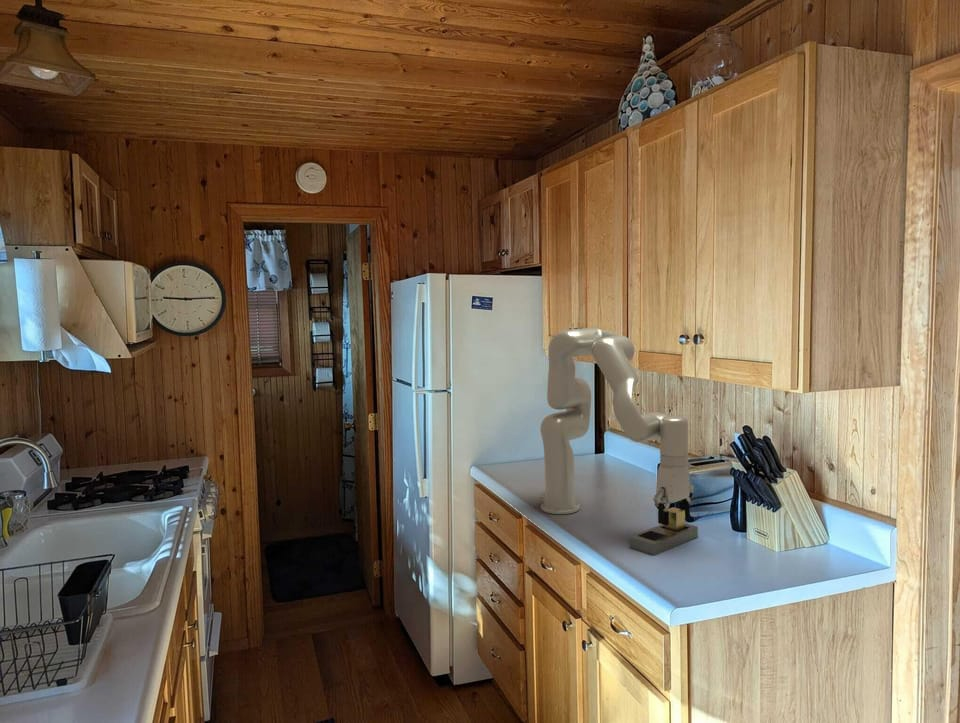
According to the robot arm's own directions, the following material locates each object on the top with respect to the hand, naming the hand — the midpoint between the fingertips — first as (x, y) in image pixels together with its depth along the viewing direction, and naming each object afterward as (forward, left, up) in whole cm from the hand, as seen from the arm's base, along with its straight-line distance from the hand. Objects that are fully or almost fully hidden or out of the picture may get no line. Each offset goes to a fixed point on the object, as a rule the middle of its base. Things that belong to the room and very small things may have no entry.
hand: (674, 520), depth 191 cm
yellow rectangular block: (0, 0, -5) cm, 5 cm away
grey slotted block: (0, -5, -5) cm, 7 cm away
